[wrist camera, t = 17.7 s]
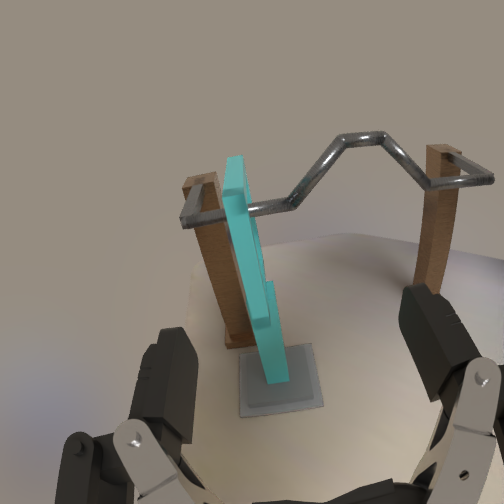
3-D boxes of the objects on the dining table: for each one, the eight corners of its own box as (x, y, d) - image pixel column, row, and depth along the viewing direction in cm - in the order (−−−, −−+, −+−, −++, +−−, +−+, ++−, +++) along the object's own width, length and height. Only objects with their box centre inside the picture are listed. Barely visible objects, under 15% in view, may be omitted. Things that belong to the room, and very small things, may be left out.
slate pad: (311, 344, 36) (311, 343, 36) (323, 406, 28) (323, 405, 28) (240, 355, 37) (239, 353, 36) (240, 417, 29) (240, 416, 29)
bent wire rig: (429, 286, 39) (447, 109, 26) (461, 337, 30) (511, 132, 17) (228, 324, 42) (172, 140, 28) (225, 389, 33) (138, 173, 19)
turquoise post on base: (247, 355, 36) (192, 165, 23) (303, 346, 36) (278, 148, 23) (249, 413, 29) (171, 208, 16) (314, 404, 29) (297, 184, 16)
